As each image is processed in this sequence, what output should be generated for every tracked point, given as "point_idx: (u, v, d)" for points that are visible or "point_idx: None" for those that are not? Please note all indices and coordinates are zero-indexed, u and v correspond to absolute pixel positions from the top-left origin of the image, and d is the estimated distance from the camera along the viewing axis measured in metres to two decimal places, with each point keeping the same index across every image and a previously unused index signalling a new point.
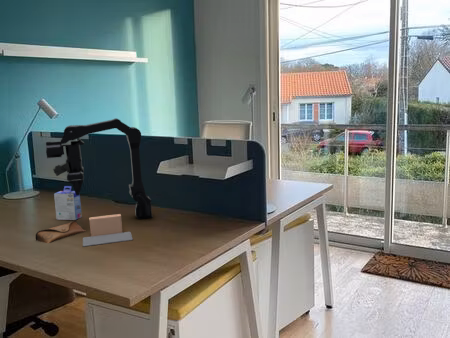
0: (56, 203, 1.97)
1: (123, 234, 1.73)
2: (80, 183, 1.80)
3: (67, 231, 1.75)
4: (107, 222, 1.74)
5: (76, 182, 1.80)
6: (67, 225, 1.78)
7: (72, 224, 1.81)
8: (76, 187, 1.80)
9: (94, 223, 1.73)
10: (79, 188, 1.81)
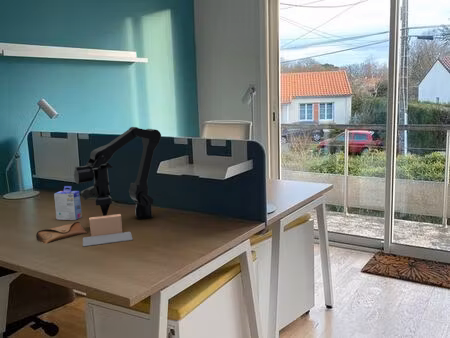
0: (56, 203, 1.97)
1: (123, 234, 1.73)
2: (108, 205, 1.84)
3: (67, 232, 1.73)
4: (107, 222, 1.74)
5: None
6: (68, 226, 1.77)
7: (74, 225, 1.79)
8: (103, 209, 1.84)
9: (94, 223, 1.73)
10: (106, 210, 1.85)
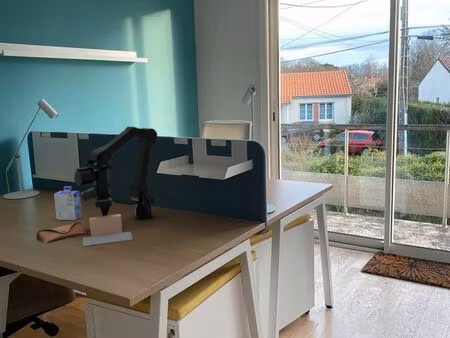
0: (56, 203, 1.97)
1: (123, 234, 1.73)
2: (108, 207, 1.80)
3: (67, 232, 1.73)
4: (107, 222, 1.74)
5: None
6: (69, 226, 1.76)
7: (75, 225, 1.79)
8: (104, 211, 1.81)
9: (94, 223, 1.73)
10: (106, 212, 1.81)
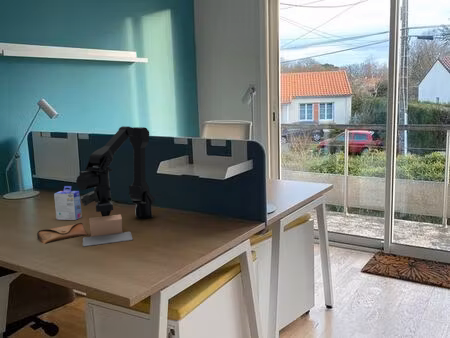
0: (56, 203, 1.97)
1: (123, 234, 1.73)
2: (109, 211, 1.74)
3: (66, 233, 1.72)
4: (107, 224, 1.73)
5: None
6: (69, 227, 1.75)
7: (76, 226, 1.78)
8: (104, 215, 1.74)
9: (94, 225, 1.71)
10: None
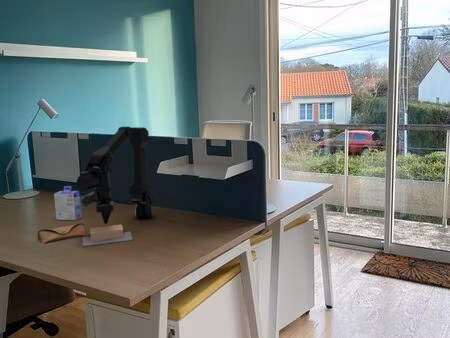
0: (56, 203, 1.97)
1: (123, 234, 1.73)
2: (109, 211, 1.74)
3: (66, 233, 1.72)
4: None
5: None
6: (70, 227, 1.75)
7: (77, 226, 1.77)
8: (105, 216, 1.74)
9: None
10: (108, 217, 1.74)
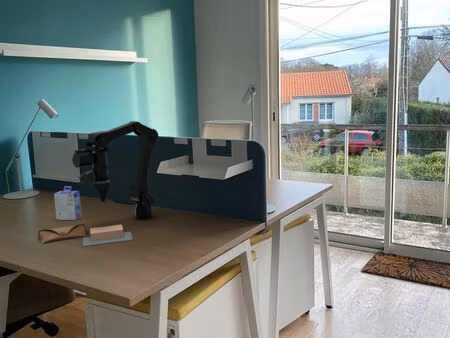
0: (56, 203, 1.97)
1: (123, 234, 1.73)
2: (106, 190, 1.79)
3: (65, 234, 1.71)
4: None
5: (102, 189, 1.79)
6: (70, 228, 1.74)
7: (77, 227, 1.76)
8: (102, 194, 1.79)
9: None
10: (105, 195, 1.79)
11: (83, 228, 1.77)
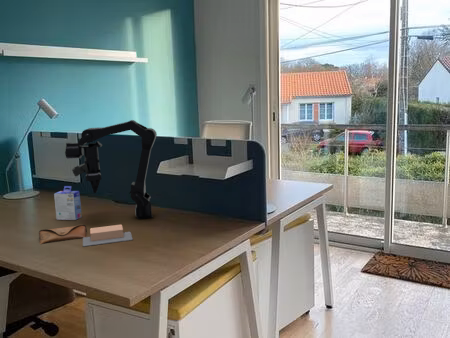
0: (56, 203, 1.97)
1: (123, 234, 1.73)
2: (98, 181, 1.92)
3: (64, 234, 1.70)
4: None
5: (94, 180, 1.92)
6: (70, 228, 1.73)
7: (77, 228, 1.75)
8: (94, 185, 1.92)
9: None
10: (97, 186, 1.93)
11: (83, 229, 1.76)
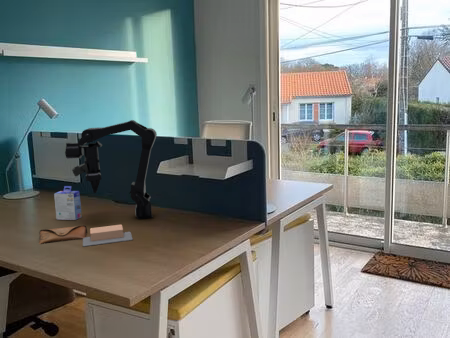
0: (56, 203, 1.97)
1: (123, 234, 1.73)
2: (98, 181, 1.92)
3: (63, 235, 1.70)
4: None
5: (94, 180, 1.92)
6: (69, 229, 1.73)
7: (77, 228, 1.75)
8: (94, 185, 1.92)
9: None
10: (97, 186, 1.93)
11: (83, 230, 1.75)
